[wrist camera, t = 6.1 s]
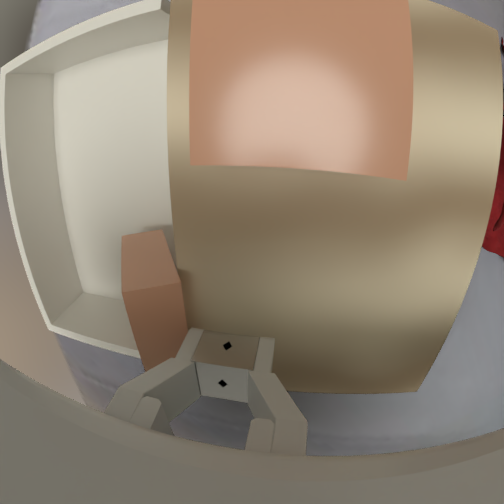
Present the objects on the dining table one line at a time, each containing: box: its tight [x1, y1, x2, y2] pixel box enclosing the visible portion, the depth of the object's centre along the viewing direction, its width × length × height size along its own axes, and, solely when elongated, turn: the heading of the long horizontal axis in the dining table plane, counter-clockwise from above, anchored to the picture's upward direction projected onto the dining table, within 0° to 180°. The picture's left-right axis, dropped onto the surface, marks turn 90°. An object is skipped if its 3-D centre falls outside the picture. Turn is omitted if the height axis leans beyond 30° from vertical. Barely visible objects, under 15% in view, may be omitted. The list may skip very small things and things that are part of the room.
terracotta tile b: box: [189, 0, 413, 181], centre depth 6 cm, size 5×5×2 cm
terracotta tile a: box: [121, 229, 188, 372], centre depth 12 cm, size 5×5×2 cm
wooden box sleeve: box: [167, 0, 503, 394], centre depth 11 cm, size 16×11×5 cm
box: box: [0, 0, 178, 359], centre depth 12 cm, size 16×10×4 cm, turn 179°
